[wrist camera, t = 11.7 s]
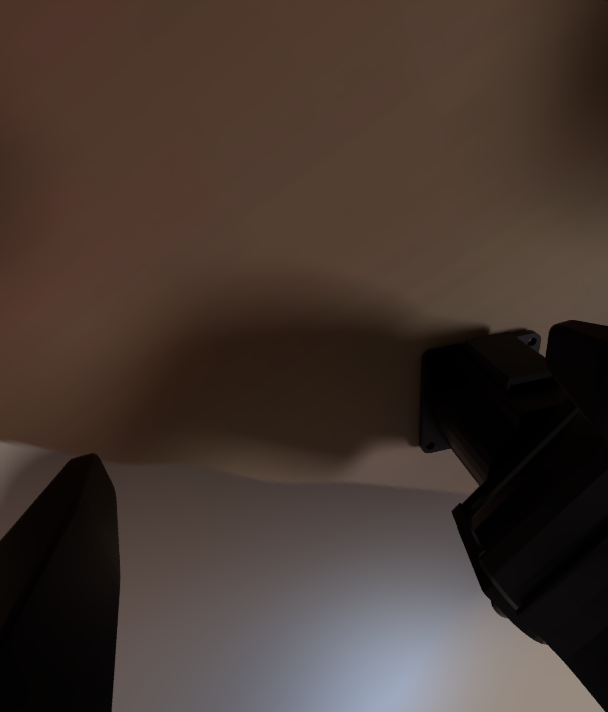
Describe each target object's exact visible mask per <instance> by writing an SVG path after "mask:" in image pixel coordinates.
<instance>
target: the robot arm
mask: <svg viewBox="0 0 608 712" xmlns="http://www.w3.org/2000/svg"><path fill="white" fill-rule="evenodd" d="M531 338H532V339H531ZM530 339H531V341H530V342H528V341H529V340H530ZM540 343H541V337H540V335H539V334H537V333H536V332H534V331H532V330H528V331H523V332H518V333H512V334H511V333H503V334H498V335H493V336H487V337H482V338H477V339H472V340H467V341H465V342H464V343H461V344H456V345H450V346H445V347H440V348H435V349H430V350H428V351H426V352H425V353H424V355H423V356H422V363H421V397H420V431H419V445H420V447H421V449H422V450H423V451H424V452H425V453H432V452H437V451H441V450H446V449H450V448H451V449H452V451H453V452H454V453H455V455H456V456H457V457H458V458H459V460H460V461H461V462H462V464H463V465H464V466H465V468H466V469H467V470H468V472H469V473H470V474H471V475H472V477H473V478H474V479H475V481H476V482H477V483H478V485H479V487H478V488H477V489H476V490H475V491H474V492H473V493H472V494H471V495H470V496H469V497H468V498H467V499H466V500H465V501H464V502H463V503H462V504H461V503H459V504H458V505H457V506H456V507H455V508H454V509H453V510H452V514H453V517H454V519H455V522H456V524H457V528H458V531H459V534H460V536H461V538H462V541H463V543H464V546H465V549H466V551H467V553H468V556H469V559H470V561H471V564H472V566H473V568H474V571H475V574H476V576H477V579H478V581H479V584H480V586H481V589H482V591H483V592H484V594H485V595H486V596H487V597H488V598H489V599H490V600H491V604H492V607H493V608H494V610H495V611H496V612H497V613H498V614H499V615H500V616H501V617H504V618H508V619H510V621H511V622H512V623H513V624H514V625H516V626H517V627H518V628H519V629H520V630H521V631H522V632H524V633H525V634H526V635H528V636H529V637H530V638H532V639H533V640H535V641H537V642H539V643H541V644H546V645H549V647H550V648H551V649H552V650H553V651H554V652H555V653H556V654H557V655H558V656H559V657H560V658H561V659H562V660H563V661H564V662H565V664H566V665H567V666H568V667H569V668H570V669H571V671H572V672H573V673H574V674H575V675H576V677H577V678H578V679H579V680H580V681H581V683H582V684H583V685H584V686H585V687H586V688H587V690H588V691H589V692H590V693H591V695H592V696H593V697H594V698H595V699H596V701H597V702H598V703H599V704H600V706H601V707H602V708H603V709H604V711H605V712H608V326H605V325H599V324H594V323H588V322H582V321H577V320H568V321H565V322H561V323H558V324H555V325H553V326H552V327H551V329H550V330H549V336H548V343H547V350H546V357H544V356H542V355H541V354H539V349H540ZM433 357H435V359H434V360H433V361H432V362H430V360H431V359H432V358H433ZM428 443H430V444H429V445H427V444H428ZM119 595H120V555H119V537H118V519H117V502H116V493H115V489H114V486H113V484H112V482H111V480H110V478H109V476H108V474H107V472H106V470H105V468H104V466H103V464H102V462H101V460H100V458H99V457H98V455H97V454H94V453H90V454H87V455H83V456H79V457H76V458H73V459H71V460H70V461H69V462H68V463H67V464H66V465H65V466H64V467H63V469H62V470H61V471H60V472H59V473H58V474H57V475H56V477H55V478H54V479H53V480H52V481H51V482H50V484H49V485H48V486H47V487H46V488H45V489H44V491H43V492H42V493H41V494H40V495H39V496H38V498H37V499H36V500H35V501H34V502H33V504H31V506H30V507H29V508H28V509H27V510H26V511H25V512H24V514H23V515H22V516H21V517H20V518H19V519H18V521H17V522H16V523H15V524H14V525H13V526H12V528H11V529H10V530H9V531H8V532H7V534H5V536H4V537H3V538H2V539H1V540H0V712H112V698H113V684H114V683H113V682H114V669H115V654H116V639H117V625H118V610H119Z"/></svg>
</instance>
